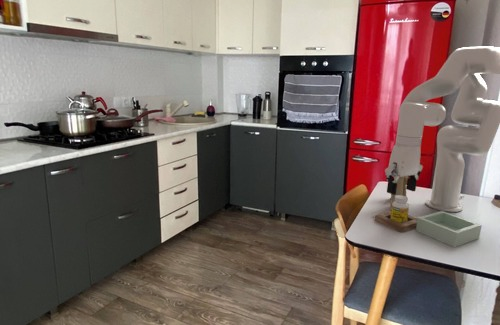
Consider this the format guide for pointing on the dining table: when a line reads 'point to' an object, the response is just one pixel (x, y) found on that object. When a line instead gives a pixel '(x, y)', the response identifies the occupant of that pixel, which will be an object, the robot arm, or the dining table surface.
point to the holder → (395, 225)
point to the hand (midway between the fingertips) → (401, 191)
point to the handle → (398, 189)
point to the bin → (448, 228)
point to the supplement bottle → (400, 209)
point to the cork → (404, 185)
